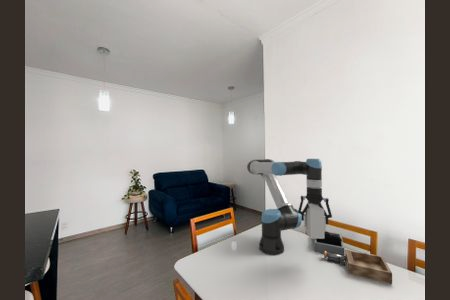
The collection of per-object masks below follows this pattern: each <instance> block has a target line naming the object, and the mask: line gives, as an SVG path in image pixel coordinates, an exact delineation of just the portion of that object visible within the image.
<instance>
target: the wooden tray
mask: <svg viewBox="0 0 450 300" xmlns="http://www.w3.org/2000/svg"><path fill="white" fill-rule="evenodd" d="M344 250H345V257H346V261H345V262H346V267H347V270H348V271H347V272H348V274H349V275H353V276H357V277H361V278H365V279H370V280H373V281H378V282H382V283H386V284H390V285H393V273H392V271H391V268H390V267H389V265H388V263H387V262H386V260H385V258H384V257H383V256H382V255H377V254H371V253H366V252H362V251H356V250H350V249H346V248H344Z"/></svg>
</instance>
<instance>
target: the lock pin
mask: <svg viewBox="0 0 450 300" xmlns="http://www.w3.org/2000/svg"><path fill="white" fill-rule="evenodd" d="M328 257H329V258H334V259H338V260H340V258H344V262H346V257H345V256H343V255H338V254H333V253H328V252H327V251H324V253H323V258H324V259H328Z"/></svg>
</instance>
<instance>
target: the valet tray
mask: <svg viewBox="0 0 450 300" xmlns="http://www.w3.org/2000/svg"><path fill="white" fill-rule="evenodd" d="M324 232H327V230H326V231H324ZM328 232H329V233H330V234H331V235H335V234H336V235H337V236H340V238H341V239H342V242H341V247H340V246H334V245H329V244H324V243H318V242H317V239H314V251H315V252H318V253H323V254H324V251H327V252H328V253H333V254H338V255H339V253H343V256H345V245H344V241H343V237H342V234H341V233H336V232H331V231H328Z"/></svg>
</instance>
